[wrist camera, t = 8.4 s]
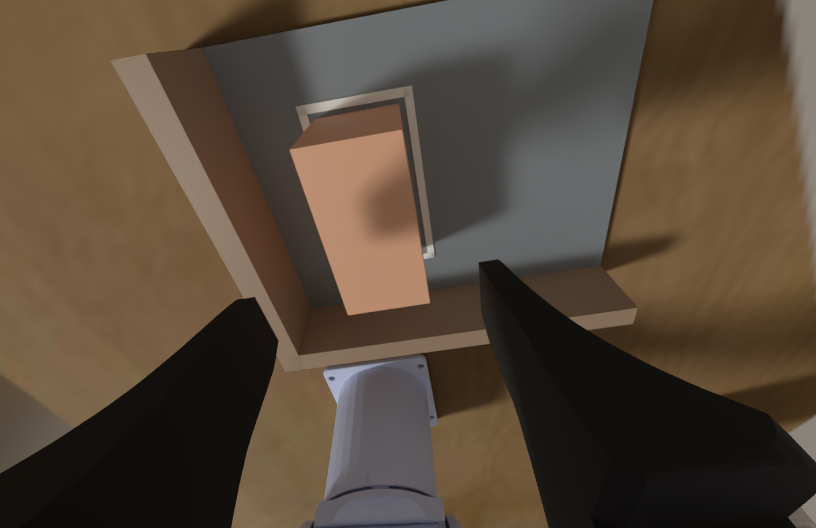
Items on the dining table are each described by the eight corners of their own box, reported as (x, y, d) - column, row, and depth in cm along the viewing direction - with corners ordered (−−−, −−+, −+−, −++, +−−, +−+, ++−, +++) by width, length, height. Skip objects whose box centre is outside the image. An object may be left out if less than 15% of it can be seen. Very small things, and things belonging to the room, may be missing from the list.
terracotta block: (315, 118, 16) (289, 149, 12) (398, 103, 16) (401, 129, 12) (356, 258, 21) (347, 315, 17) (422, 247, 20) (430, 302, 16)
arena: (593, 275, 23) (633, 323, 19) (301, 318, 24) (285, 371, 20) (653, -39, 14) (750, -64, 10) (180, 52, 15) (110, 60, 11)
